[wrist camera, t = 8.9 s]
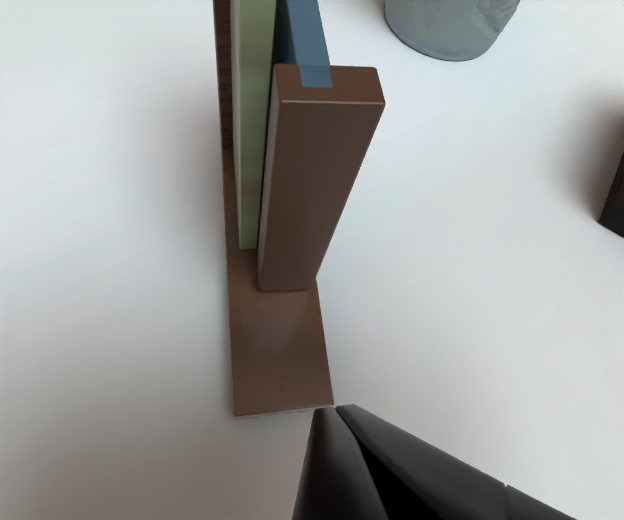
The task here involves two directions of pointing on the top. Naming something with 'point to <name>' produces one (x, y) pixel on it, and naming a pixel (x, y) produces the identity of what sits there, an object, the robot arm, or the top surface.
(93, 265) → the top surface
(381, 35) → the top surface
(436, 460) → the robot arm
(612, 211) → the digital camera
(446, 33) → the embossed grey plant pot
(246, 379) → the brown wooden panel stand
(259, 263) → the sliding door
